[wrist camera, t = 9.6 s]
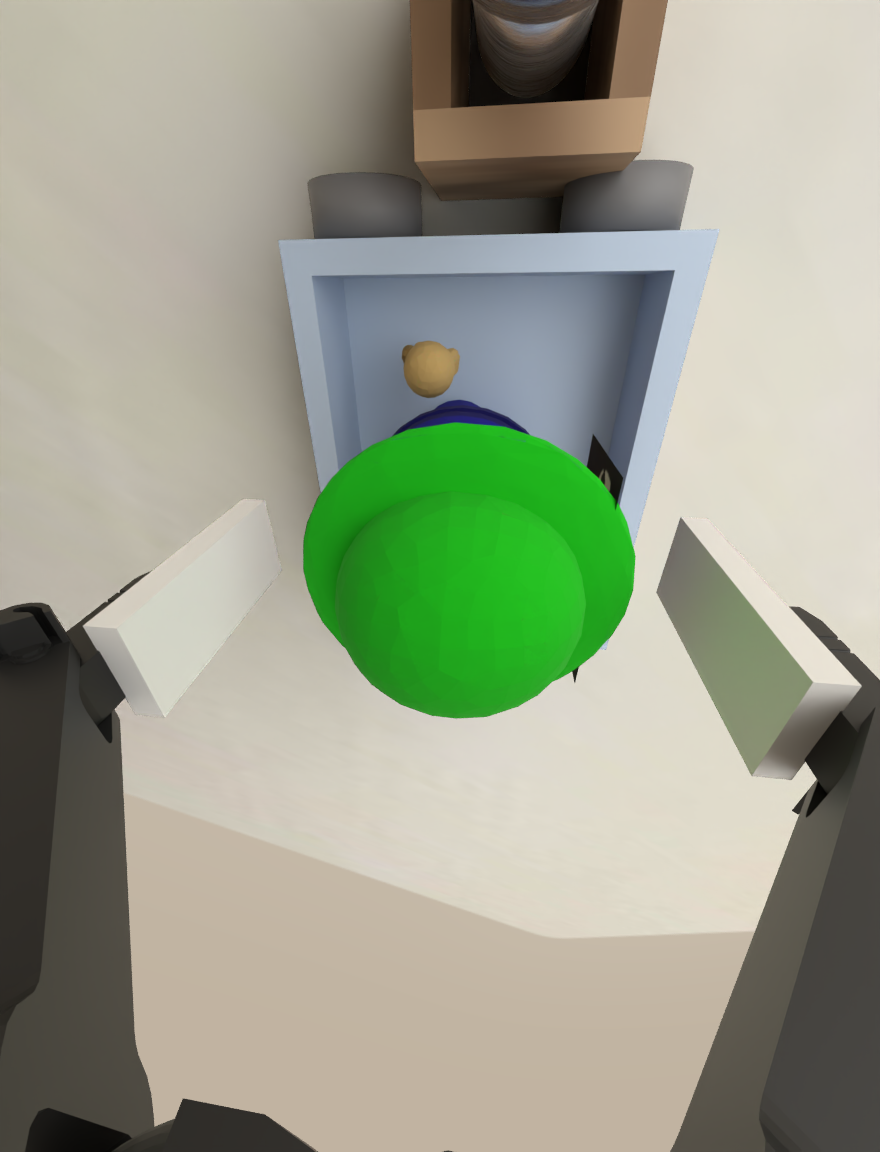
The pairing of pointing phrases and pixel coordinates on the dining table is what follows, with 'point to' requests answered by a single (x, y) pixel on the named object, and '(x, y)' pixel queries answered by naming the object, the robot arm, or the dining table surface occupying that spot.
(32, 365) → the dining table surface
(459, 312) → the chassis
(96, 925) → the robot arm
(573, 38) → the pin
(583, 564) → the toy
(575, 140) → the box
